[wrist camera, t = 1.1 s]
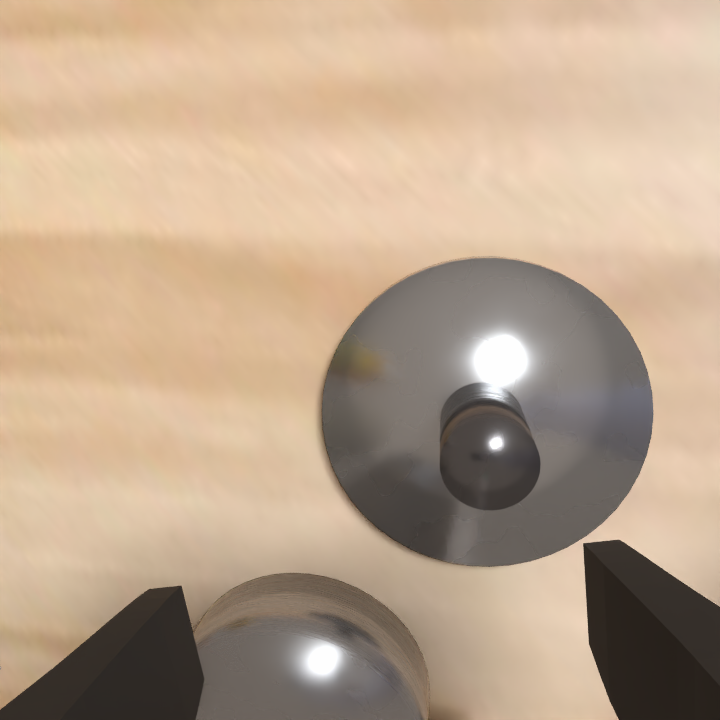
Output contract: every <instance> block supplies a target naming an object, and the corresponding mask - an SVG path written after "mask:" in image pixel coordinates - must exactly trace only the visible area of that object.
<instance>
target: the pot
mask: <svg viewBox="0 0 720 720" xmlns="http://www.w3.org/2000/svg"><path fill="white" fill-rule="evenodd" d="M193 635H194V639H195V643H196V647H197V651H198V655H199V659H200V663H201V667H202V671H203V675H204V679H205V680H204V684H203V689H202V694H201V698H200V703H199V708H198V712H197V716H196V720H429V678H428V672H427V668H426V665H425V661H424V658H423V655H422V653H421V651H420V649H419V647H418V645H417V643H416V641H415V640H414V638H413V637H412V635H411V634H410V632H409V630H408V629H407V628H406V627H405V626H404V624H403V623H402V622H401V621H400V620H399V618H398V617H397V616H396V615H394V614H393V613H392V612H391V611H390V610H389V609H388V608H387V607H386V606H385V605H383V604H382V603H380V602H379V601H378V600H376V599H375V598H373V597H372V596H370V595H369V594H367V593H365V592H363V591H361V590H360V589H358V588H356V587H353V586H351V585H349V584H346V583H344V582H341V581H338V580H335V579H331V578H328V577H324V576H318V575H312V574H301V573H285V574H274V575H269V576H264V577H260V578H257V579H254V580H251V581H248V582H245V583H243V584H241V585H239V586H237V587H235V588H233V589H232V590H230V591H229V592H227V593H226V594H224V595H223V596H222V597H221V598H219V599H218V600H217V601H216V602H215V603H214V604H213V605H212V606H211V607H210V609H209V610H208V611H207V612H206V614H205V615H204V616H203V618H202V620H201V621H200V623H199V625H198V626H197V628H196V630H195V632H194V633H193Z"/></svg>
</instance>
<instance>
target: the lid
mask: <svg viewBox="0 0 720 720" xmlns="http://www.w3.org/2000/svg"><path fill="white" fill-rule="evenodd" d="M322 422H323V433H324V438H325V444H326V449H327V452H328V455H329V458H330V461H331V464H332V467H333V469H334V471H335V473H336V475H337V478H338V480H339V482H340V484H341V485H342V487H343V488H344V490H345V492H346V493H347V495H348V496H349V498H350V499H351V501H352V502H353V503H354V504H355V505H356V507H357V508H358V509H359V510H360V511H361V513H362V514H363V515H364V516H365V517H366V518H367V519H368V520H369V521H371V522H372V523H373V524H374V525H375V526H376V527H377V528H378V529H380V530H381V531H382V532H384V533H385V534H387V535H388V536H389V537H391V538H392V539H393V540H395V541H397V542H399V543H401V544H402V545H404V546H406V547H408V548H410V549H411V550H414V551H416V552H419V553H421V554H424V555H426V556H428V557H431V558H435V559H439V560H442V561H446V562H449V563H456V564H462V565H468V566H488V567H490V566H504V565H513V564H518V563H524V562H529V561H532V560H536V559H539V558H542V557H545V556H549V555H551V554H553V553H555V552H558V551H560V550H562V549H564V548H567V547H569V546H570V545H572V544H574V543H575V542H577V541H579V540H580V539H582V538H584V537H585V536H587V535H588V534H589V533H591V532H592V531H593V530H594V529H596V528H597V527H598V526H599V525H601V524H602V523H603V522H604V521H605V520H606V519H607V518H608V517H609V516H610V515H611V514H612V513H613V512H614V511H615V510H616V509H617V507H618V506H619V505H620V504H621V502H622V501H623V500H624V498H625V497H626V496H627V494H628V493H629V491H630V490H631V488H632V486H633V484H634V482H635V481H636V479H637V477H638V475H639V473H640V471H641V468H642V466H643V463H644V461H645V458H646V455H647V451H648V447H649V443H650V439H651V434H652V423H653V401H652V390H651V386H650V381H649V376H648V372H647V369H646V366H645V363H644V361H643V358H642V355H641V352H640V351H639V349H638V347H637V345H636V343H635V341H634V339H633V338H632V336H631V334H630V332H629V331H628V330H627V328H626V327H625V326H624V324H623V323H622V322H621V320H620V319H619V318H618V316H617V315H616V314H615V313H614V312H613V311H612V310H611V309H610V308H609V307H608V306H607V305H606V304H605V303H604V302H603V301H602V300H601V299H600V298H598V297H597V296H596V295H594V294H593V293H592V292H590V291H589V290H588V289H586V288H585V287H584V286H582V285H581V284H579V283H577V282H575V281H573V280H572V279H570V278H568V277H566V276H565V275H563V274H561V273H559V272H557V271H554V270H552V269H549V268H546V267H544V266H541V265H539V264H535V263H531V262H527V261H523V260H519V259H512V258H503V257H468V258H462V259H455V260H449V261H446V262H442V263H439V264H435V265H432V266H429V267H426V268H424V269H422V270H419V271H417V272H415V273H412V274H410V275H408V276H406V277H405V278H403V279H401V280H400V281H398V282H396V283H395V284H393V285H391V286H390V287H389V288H387V289H386V290H385V291H384V292H382V293H381V294H380V295H379V296H377V297H376V298H375V299H374V300H373V301H372V302H371V303H370V304H369V305H368V306H367V307H366V308H365V309H364V310H363V311H362V312H361V313H360V314H359V316H358V317H357V319H356V320H355V321H354V323H353V324H352V325H351V327H350V328H349V329H348V331H347V332H346V333H345V335H344V337H343V339H342V341H341V342H340V344H339V346H338V348H337V350H336V352H335V354H334V357H333V359H332V362H331V365H330V367H329V370H328V373H327V378H326V382H325V387H324V392H323V403H322Z"/></svg>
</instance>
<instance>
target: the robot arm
mask: <svg viewBox="0 0 720 720" xmlns="http://www.w3.org/2000/svg"><path fill="white" fill-rule="evenodd" d="M583 546H584V564H585V582H586V599H587V617H588V634H589V645H590V648H591V650H592V653H593V656H594V659H595V662H596V665H597V667H598V670H599V673H600V676H601V679H602V681H603V684H604V687H605V689H606V692H607V695H608V697H609V700H610V702H611V704H612V706H613V708H614V710H615V713H616V715H617V717H618V719H619V720H720V607H719V606H718V605H716V604H714V603H713V602H711V601H710V600H708V599H707V598H705V597H704V596H702V595H700V594H699V593H697V592H696V591H694V590H693V589H691V588H690V587H688V586H687V585H685V584H684V583H682V582H681V581H679V580H678V579H676V578H675V577H673V576H672V575H671V574H669V573H668V572H666V571H665V570H663V569H662V568H660V567H659V566H657V565H656V564H655V563H653V562H652V561H650V560H649V559H647V558H646V557H644V556H643V555H642V554H640V553H639V552H637V551H636V550H634V549H633V548H631V547H630V546H628V545H627V544H625V543H624V542H622V541H620V540H612V541H602V542H593V543H583ZM204 680H205V679H204V675H203V671H202V667H201V663H200V659H199V655H198V651H197V647H196V643H195V639H194V635H193V631H192V627H191V623H190V619H189V615H188V611H187V607H186V603H185V599H184V595H183V591H182V586H175V587H165V588H155V589H149V590H147V591H146V592H145V593H143V594H142V595H140V596H139V597H138V598H136V599H135V600H134V601H133V602H131V603H130V604H129V605H128V606H127V607H125V608H124V609H123V610H122V611H121V612H119V613H118V614H117V615H116V616H115V617H113V618H112V619H111V620H110V621H109V622H107V623H106V624H105V625H104V626H103V627H102V628H100V629H99V630H98V631H97V632H96V633H95V634H93V635H92V636H91V637H90V638H89V639H87V640H86V641H85V642H84V643H83V644H82V645H80V646H79V647H78V648H77V649H76V650H74V651H73V652H72V653H71V654H70V655H68V656H67V657H66V658H65V659H64V660H62V661H61V662H60V663H59V664H58V665H56V666H55V667H54V668H53V669H52V670H50V671H49V672H48V673H46V674H45V675H44V676H43V677H41V678H40V679H39V680H38V681H36V682H35V683H34V684H32V685H31V686H30V687H29V688H27V689H26V690H25V691H24V692H22V693H21V694H20V695H18V696H17V697H16V698H15V699H13V700H12V701H11V702H10V703H8V704H7V705H6V706H5V707H3V708H2V709H1V710H0V720H196V716H197V712H198V708H199V703H200V698H201V694H202V689H203V684H204Z"/></svg>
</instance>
